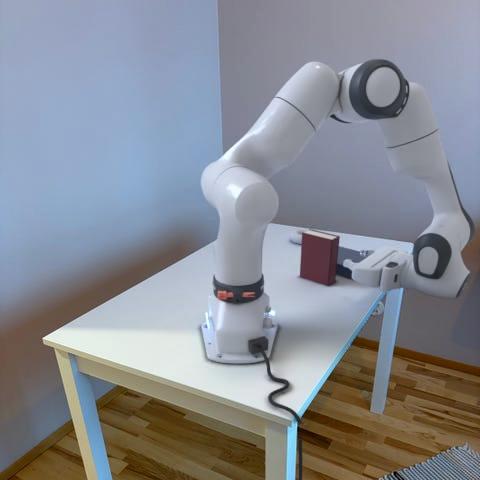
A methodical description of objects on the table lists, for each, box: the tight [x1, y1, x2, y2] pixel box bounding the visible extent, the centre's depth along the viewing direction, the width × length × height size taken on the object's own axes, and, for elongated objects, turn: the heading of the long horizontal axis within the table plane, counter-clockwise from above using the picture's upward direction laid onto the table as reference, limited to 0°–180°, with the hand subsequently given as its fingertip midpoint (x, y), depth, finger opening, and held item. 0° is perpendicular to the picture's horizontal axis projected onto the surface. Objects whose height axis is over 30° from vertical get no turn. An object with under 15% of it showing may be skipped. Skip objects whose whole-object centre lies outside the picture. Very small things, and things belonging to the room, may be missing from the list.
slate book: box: [336, 245, 368, 280], centre depth 147 cm, size 13×18×4 cm
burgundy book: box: [299, 228, 341, 287], centre depth 135 cm, size 4×10×14 cm, turn 50°
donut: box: [289, 228, 310, 245], centre depth 166 cm, size 10×4×10 cm
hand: (353, 257), depth 128 cm, fingers open, 8 cm apart
